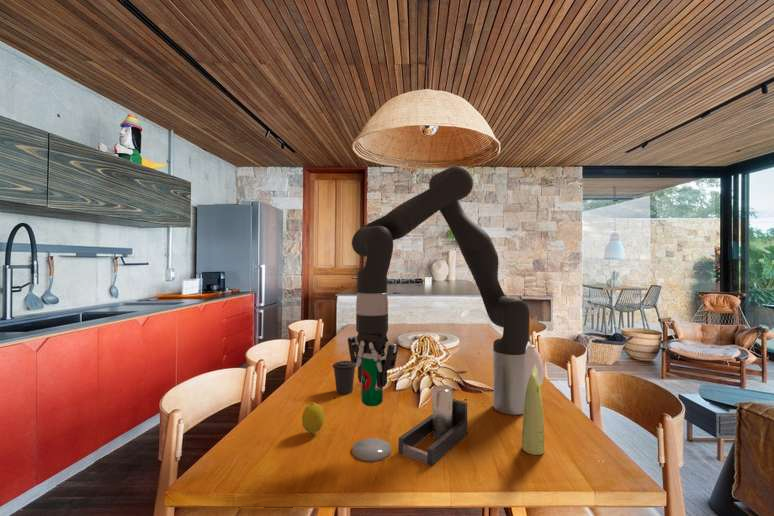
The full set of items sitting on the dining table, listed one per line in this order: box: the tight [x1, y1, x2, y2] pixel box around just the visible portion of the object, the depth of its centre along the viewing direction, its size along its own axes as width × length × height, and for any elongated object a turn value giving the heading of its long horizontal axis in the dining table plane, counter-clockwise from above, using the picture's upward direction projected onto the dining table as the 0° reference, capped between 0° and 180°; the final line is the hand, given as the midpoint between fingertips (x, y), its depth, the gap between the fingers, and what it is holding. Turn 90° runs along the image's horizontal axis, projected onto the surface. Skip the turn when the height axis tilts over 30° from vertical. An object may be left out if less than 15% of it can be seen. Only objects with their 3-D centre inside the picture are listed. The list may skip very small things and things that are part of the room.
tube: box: [521, 363, 545, 456], centre depth 83 cm, size 6×5×20 cm
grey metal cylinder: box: [432, 384, 454, 441], centre depth 89 cm, size 5×5×12 cm
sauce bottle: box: [526, 337, 545, 389], centre depth 121 cm, size 8×8×18 cm
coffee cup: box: [332, 360, 358, 396], centre depth 120 cm, size 8×8×10 cm
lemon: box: [301, 402, 325, 435], centre depth 91 cm, size 6×6×8 cm
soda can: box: [360, 352, 384, 407], centre depth 83 cm, size 5×5×12 cm
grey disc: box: [351, 437, 392, 462], centre depth 83 cm, size 9×9×1 cm
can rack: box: [397, 398, 468, 467], centre depth 86 cm, size 18×9×8 cm, turn 143°
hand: (372, 383), depth 83 cm, fingers closed on soda can, 5 cm apart
